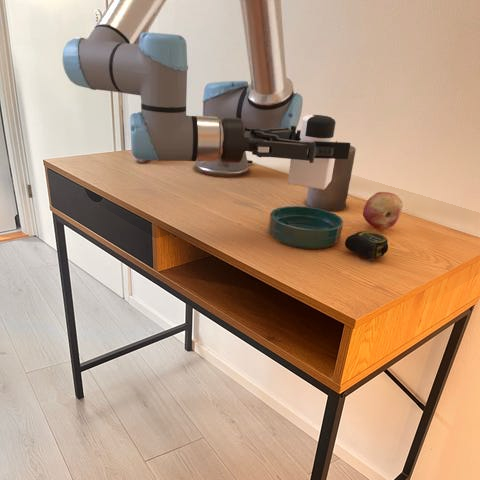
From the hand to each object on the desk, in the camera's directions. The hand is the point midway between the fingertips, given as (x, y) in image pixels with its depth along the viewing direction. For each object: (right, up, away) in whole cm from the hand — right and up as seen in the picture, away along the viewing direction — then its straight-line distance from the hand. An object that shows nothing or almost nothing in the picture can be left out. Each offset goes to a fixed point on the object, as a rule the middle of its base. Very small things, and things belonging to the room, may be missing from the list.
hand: (337, 144), depth 91 cm
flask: (-46, +14, +53) cm, 72 cm away
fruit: (+12, -13, +16) cm, 23 cm away
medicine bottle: (-5, -6, +3) cm, 9 cm away
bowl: (-5, -16, +8) cm, 18 cm away
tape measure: (+5, -21, +1) cm, 22 cm away
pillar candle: (+2, -5, +28) cm, 28 cm away
